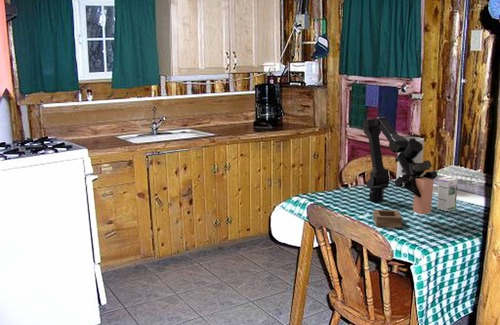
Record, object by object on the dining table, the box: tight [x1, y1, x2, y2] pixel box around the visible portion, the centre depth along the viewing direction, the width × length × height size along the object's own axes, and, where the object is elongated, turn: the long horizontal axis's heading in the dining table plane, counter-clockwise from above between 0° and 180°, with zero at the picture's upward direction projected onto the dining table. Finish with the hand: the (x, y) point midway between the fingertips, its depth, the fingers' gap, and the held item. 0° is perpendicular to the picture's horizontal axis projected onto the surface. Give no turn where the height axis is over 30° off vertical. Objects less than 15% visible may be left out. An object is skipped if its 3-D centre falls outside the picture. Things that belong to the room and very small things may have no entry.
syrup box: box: [436, 176, 459, 212], centre depth 230 cm, size 6×6×14 cm
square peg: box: [412, 177, 435, 215], centre depth 213 cm, size 5×5×14 cm
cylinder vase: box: [395, 136, 425, 188], centre depth 271 cm, size 12×12×25 cm
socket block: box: [372, 209, 403, 228], centre depth 214 cm, size 10×10×4 cm
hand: (425, 196), depth 212 cm, fingers closed on square peg, 5 cm apart
